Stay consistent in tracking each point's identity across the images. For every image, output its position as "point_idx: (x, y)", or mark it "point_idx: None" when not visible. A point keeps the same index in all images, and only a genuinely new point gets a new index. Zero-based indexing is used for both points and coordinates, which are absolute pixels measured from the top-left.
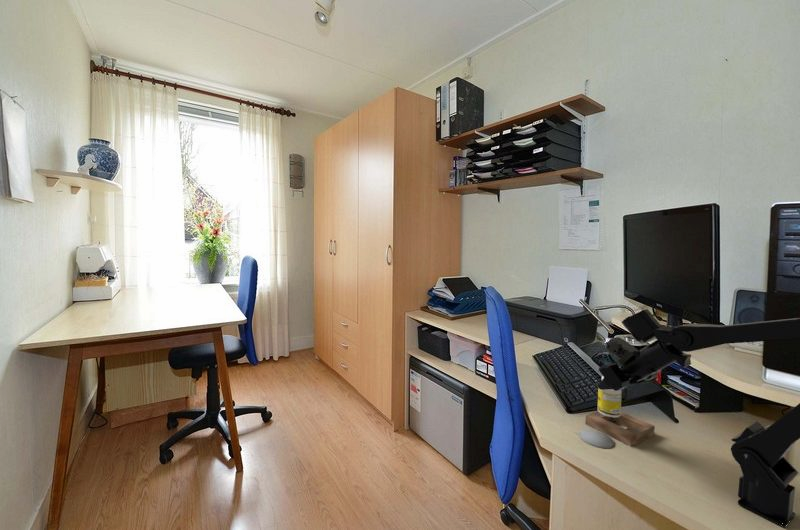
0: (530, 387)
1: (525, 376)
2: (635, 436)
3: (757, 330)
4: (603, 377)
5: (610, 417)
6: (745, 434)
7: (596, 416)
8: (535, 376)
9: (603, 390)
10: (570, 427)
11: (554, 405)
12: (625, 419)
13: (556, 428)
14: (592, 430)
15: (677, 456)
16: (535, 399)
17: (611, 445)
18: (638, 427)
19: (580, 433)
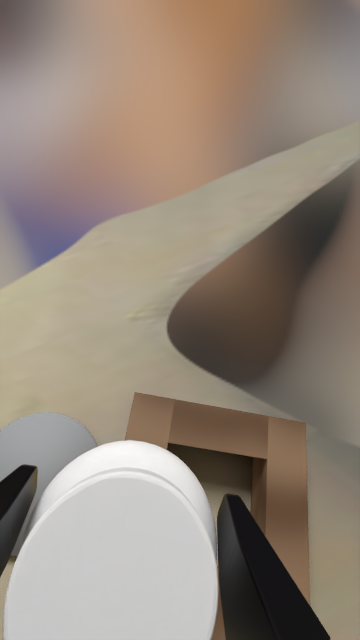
0: (239, 182)
1: (298, 147)
2: None
3: None
4: (71, 509)
5: (237, 454)
6: None
7: (164, 425)
8: (327, 164)
9: (29, 521)
10: (60, 373)
11: (183, 273)
12: (261, 515)
13: (10, 345)
14: (88, 442)
15: None
16: (171, 220)
17: (13, 555)
18: (219, 609)
19: (23, 422)
